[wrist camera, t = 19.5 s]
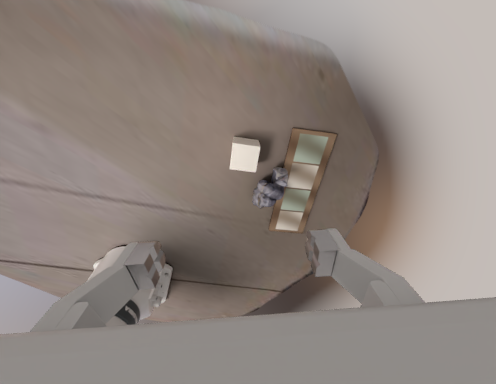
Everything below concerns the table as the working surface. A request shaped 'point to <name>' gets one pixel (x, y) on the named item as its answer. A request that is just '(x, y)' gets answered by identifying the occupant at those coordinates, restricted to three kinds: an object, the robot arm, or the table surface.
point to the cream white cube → (244, 154)
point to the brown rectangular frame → (301, 178)
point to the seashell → (271, 188)
